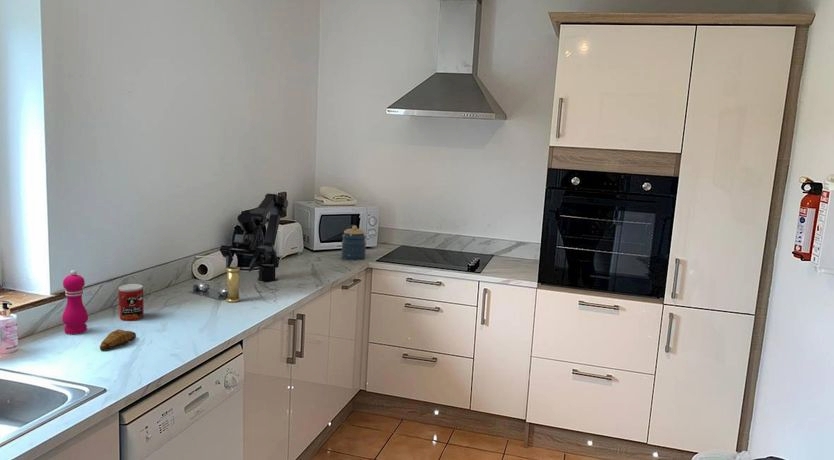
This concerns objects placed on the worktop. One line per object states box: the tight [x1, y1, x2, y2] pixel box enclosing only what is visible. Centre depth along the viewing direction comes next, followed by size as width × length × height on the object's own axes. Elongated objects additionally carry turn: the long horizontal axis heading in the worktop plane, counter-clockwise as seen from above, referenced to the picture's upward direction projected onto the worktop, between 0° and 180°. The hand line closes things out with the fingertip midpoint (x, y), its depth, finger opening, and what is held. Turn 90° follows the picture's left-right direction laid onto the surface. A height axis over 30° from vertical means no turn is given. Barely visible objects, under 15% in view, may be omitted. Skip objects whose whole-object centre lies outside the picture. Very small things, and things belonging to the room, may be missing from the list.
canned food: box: [118, 283, 145, 322], centre depth 210 cm, size 8×8×11 cm
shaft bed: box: [187, 281, 227, 301], centre depth 244 cm, size 19×9×3 cm, turn 60°
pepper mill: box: [61, 269, 89, 335], centre depth 193 cm, size 7×7×20 cm
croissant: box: [99, 328, 137, 351], centre depth 185 cm, size 14×7×5 cm, turn 164°
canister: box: [341, 225, 367, 260], centre depth 326 cm, size 13×13×18 cm
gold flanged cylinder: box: [225, 266, 241, 304], centre depth 235 cm, size 5×5×13 cm
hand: (237, 270), depth 239 cm, fingers open, 9 cm apart
